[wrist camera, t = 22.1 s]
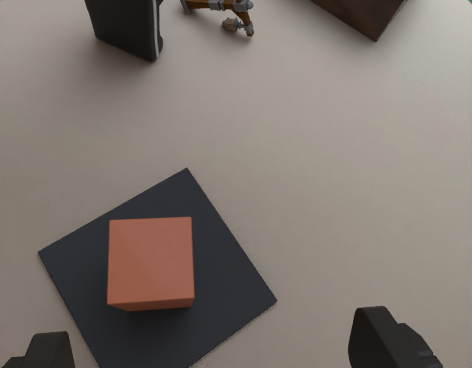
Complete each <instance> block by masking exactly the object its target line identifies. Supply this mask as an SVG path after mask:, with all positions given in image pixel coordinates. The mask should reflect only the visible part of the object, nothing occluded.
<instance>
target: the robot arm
mask: <svg viewBox="0 0 472 368" xmlns="http://www.w3.org/2000/svg"><path fill="white" fill-rule="evenodd" d="M348 355H349V361H350V364H351V367H352V368H443V365H442V364H441V363H440V361H439V360H438V358H437V357H436V356H434V355H433V352H432V350H431V349H430V348H429V346H428V345H427V343H426V342H425V341H424V339H423V338H422V337H421V336H420V335H419V334H418V333H416V332H415V331H414V330H413V329H411V328H410V327H409V326H408V325H406V324H405V323H400V324H397V322H396V321H395V319H394V318H393V317H392V315H391V314H390V312H389V311H388V309H387V308H386V307H384V306H375V307H363V308H357V309H356V311H355V315H354V320H353V325H352V330H351V335H350V340H349V345H348ZM2 368H75V364H74V359H73V355H72V350H71V345H70V340H69V336H68V333H67V332H66V331H63V332H51V333H38V334H35V335H34V336H33V338H32V340H31V342H30V345H29V347H28V349H27V352H26V354H25V356H22V357H11V358H10V359H9V360H8V361H7V363H6V364H5V365H4V366H3V367H2Z"/></svg>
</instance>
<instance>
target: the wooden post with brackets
mask: <svg viewBox="0 0 472 368" xmlns="http://www.w3.org/2000/svg"><path fill="white" fill-rule="evenodd" d="M180 2H181V4H182V6H183V9H184V11H185V14H187V13H188V14H189V13H190V11H191V10H192V9H200V8H210V9H211V10H218V11H220V10H221V9H222V11H225V10H226V9H230V10H232V11H233V12H234V13H235V14H236V15H237V16H238V17H239V18H240V19H241V20H242V21H243V23H244V24H241V21H240V23H239V22H238V19H237V17H236V18H235V19H230V18H229V17H228V18H227V19H226V21H225V20H224V21H223V22H222V25H223V26H224V27H225V28H226V30H234V32H236V30H237V28H239V29H240V28H244V30H245V31H246V33H247V36H250V37H252V35H253V34H254V31H253V25H252V21H250V18H249V15H248V12H247V11H248V9H251V8H253V2H251V1H249V0H180ZM239 11H240V12H239Z"/></svg>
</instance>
